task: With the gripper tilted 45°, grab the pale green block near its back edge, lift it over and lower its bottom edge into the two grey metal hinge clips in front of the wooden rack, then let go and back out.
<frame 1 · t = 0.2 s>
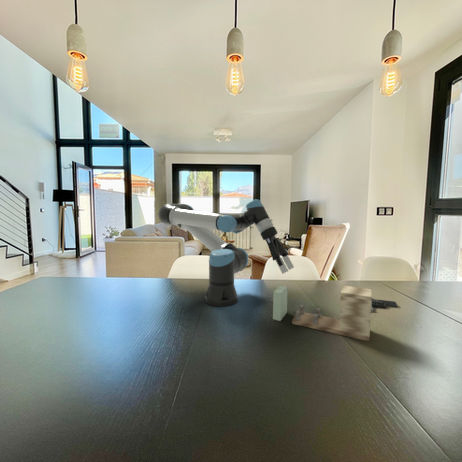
hand: (288, 270, 108), 15 cm above the table, tool tilted 30°, fingers open, 13 cm apart
wooden rack: (322, 324, 88), on the table
pale green block: (280, 315, 96), on the table
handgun: (377, 308, 106), on the table
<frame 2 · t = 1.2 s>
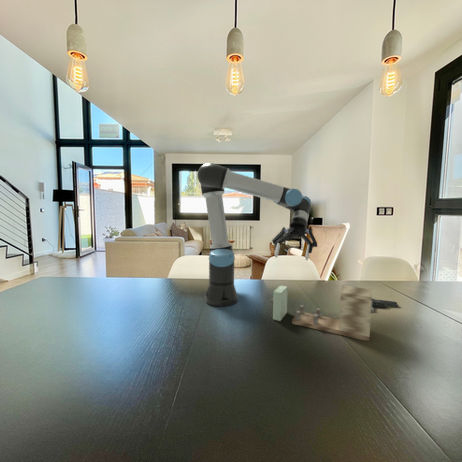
hand: (290, 257, 105), 22 cm above the table, tool tilted 45°, fingers open, 13 cm apart
nothing on the table moved.
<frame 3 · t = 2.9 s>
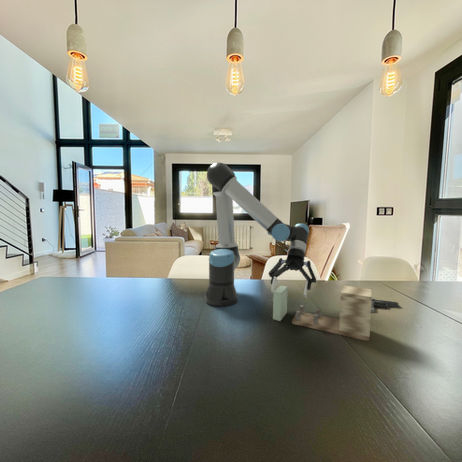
hand: (288, 293, 99), 8 cm above the table, tool tilted 45°, fingers open, 13 cm apart
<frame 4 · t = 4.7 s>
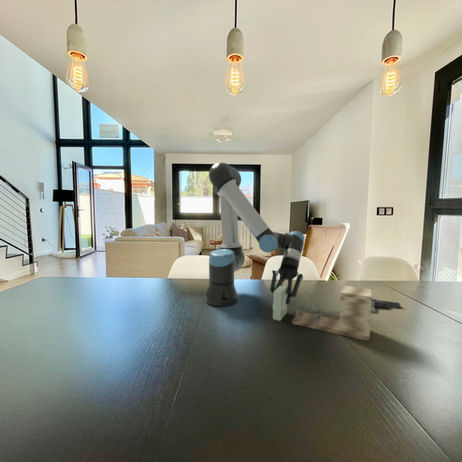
hand: (278, 310, 94), 3 cm above the table, tool tilted 45°, fingers closed on pale green block, 3 cm apart
pale green block: (280, 315, 96), on the table, touching gripper
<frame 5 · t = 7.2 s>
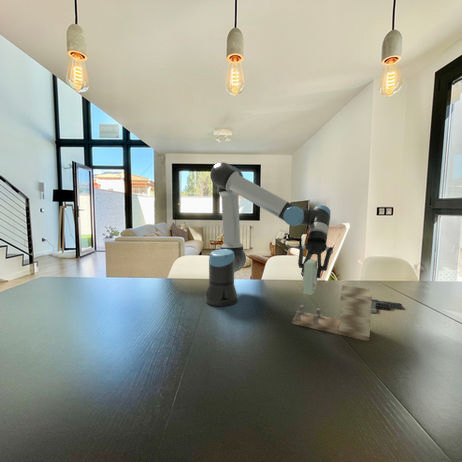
hand: (308, 284, 87), 15 cm above the table, tool tilted 45°, fingers closed on pale green block, 3 cm apart
pale green block: (309, 290, 90), point 12 cm above the table, touching gripper
when the fingers open (6 cm above the table, at t = 9.7 s): pale green block stays where it is, resting on wooden rack.
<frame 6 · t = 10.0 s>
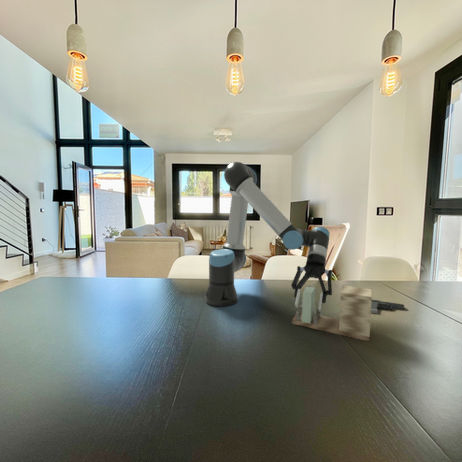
hand: (307, 307, 88), 6 cm above the table, tool tilted 45°, fingers open, 8 cm apart
pale green block: (308, 317, 91), point 1 cm above the table, touching wooden rack
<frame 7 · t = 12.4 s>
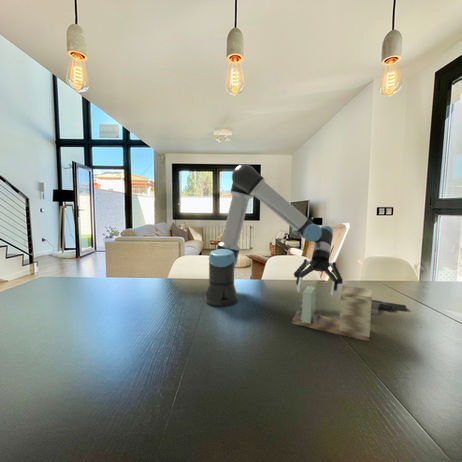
hand: (314, 294, 100), 7 cm above the table, tool tilted 45°, fingers open, 13 cm apart
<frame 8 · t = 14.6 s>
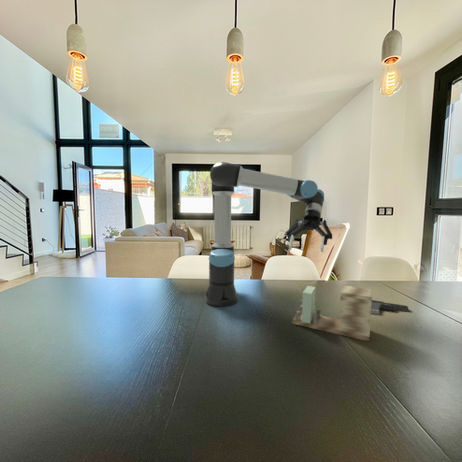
hand: (305, 248, 104), 26 cm above the table, tool tilted 45°, fingers open, 13 cm apart
at the end: pale green block 0.1 cm from the target spot on the wooden rack, point 1.5 cm above the wooden rack's base; pale green block tilted 0°; the gripper is holding nothing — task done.
